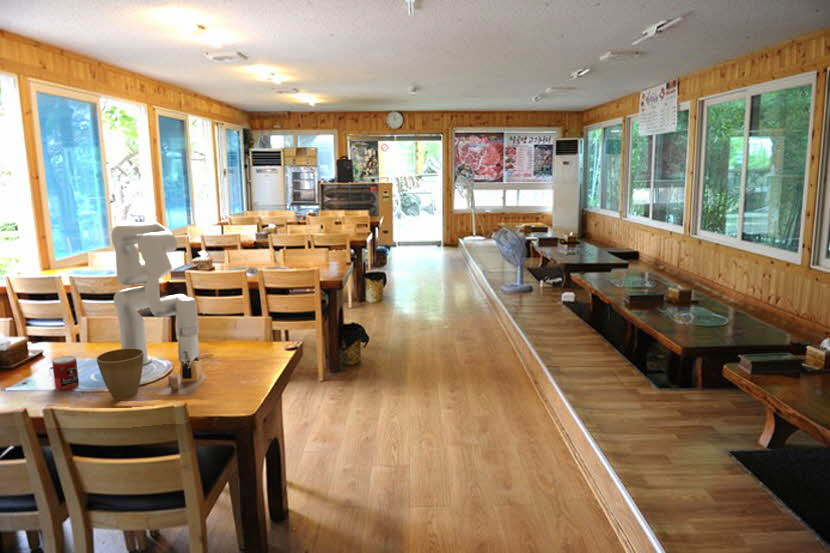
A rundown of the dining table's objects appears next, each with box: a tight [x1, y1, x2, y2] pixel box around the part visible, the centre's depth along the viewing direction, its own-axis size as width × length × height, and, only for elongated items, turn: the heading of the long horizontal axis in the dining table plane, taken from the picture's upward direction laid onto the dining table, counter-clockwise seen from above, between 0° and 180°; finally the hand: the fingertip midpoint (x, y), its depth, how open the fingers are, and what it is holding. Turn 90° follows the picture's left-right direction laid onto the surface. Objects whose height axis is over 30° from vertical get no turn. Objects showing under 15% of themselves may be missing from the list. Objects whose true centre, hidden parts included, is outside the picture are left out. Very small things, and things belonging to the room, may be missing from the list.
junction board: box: [157, 374, 208, 396], centre depth 219 cm, size 12×20×6 cm, turn 3°
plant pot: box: [95, 348, 144, 402], centre depth 209 cm, size 15×15×16 cm
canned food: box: [51, 355, 80, 392], centre depth 220 cm, size 8×8×11 cm
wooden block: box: [179, 360, 203, 382], centre depth 224 cm, size 6×6×6 cm
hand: (191, 373), depth 224 cm, fingers open, 9 cm apart
